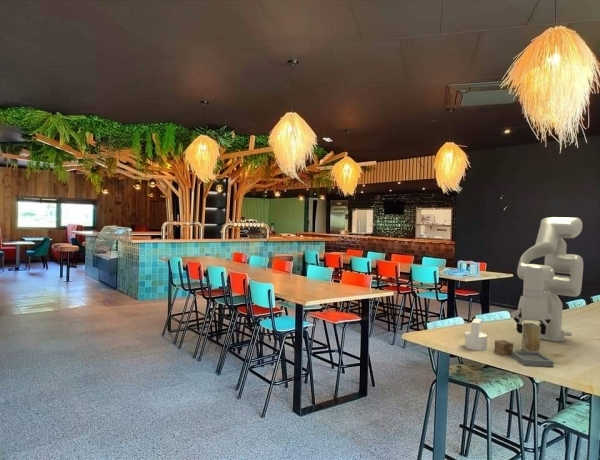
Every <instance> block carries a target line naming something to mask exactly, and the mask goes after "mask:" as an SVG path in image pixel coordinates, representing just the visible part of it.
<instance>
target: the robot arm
mask: <svg viewBox="0 0 600 460" xmlns="http://www.w3.org/2000/svg"><path fill="white" fill-rule="evenodd" d="M582 221H583V220H582V219H581V218H579V217H569V216H568V217H564V216H563V217H562V216H561V217H559V216H558V217H557V216H552V217H545V218H543V219H541V221H540V226H539V230H538V233H537V238H536V240H535V244H534V245H532V246H531V247H529V248H528V249H526V250H525V251H524V252H523V254H522V255H521V256H520V259H519V261H518V265H517V270H516V274H517V277H518V278H519V279H521V280H522V281H523V286H522V287H523V288H522V291H523V292H522V295H520V298H519V302H518V306H517V307H518V308H517V310H515V311H512V312H511V313H510V315H511V317H512V319H513V321H515V323H516V331H517V333H519V334H523V323H524V321H534V322H535V321H537V322H538V326H540V327H541V336H540V340H543V341H549V342H557V343H558V342H559V343H560V342H565V340H566V339H565V337H571V336H572V334H573V333H572V331H565V330H564V329H563V330H562V323H563V308H564V307H563V305H564V304H563V302H562V300H561V299H560V297H559V295H560V296H567V297H578V296H580V295H581V292H582V287H583V286H582V284H583V274H584V260H583V257H582V256H580V255H579V254H574V253H573V254H572V253H567V242H566V241H565V239H574V238H576V237H578V236H579V235H580V234H581V232H582V230H583V222H582ZM541 257H544V264H536V263H531V261H533V260H535V259H538V258H541ZM555 273H558V274H555ZM559 273H560V274H559ZM561 274H567V275H561ZM568 274H569V275H568Z"/></svg>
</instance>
